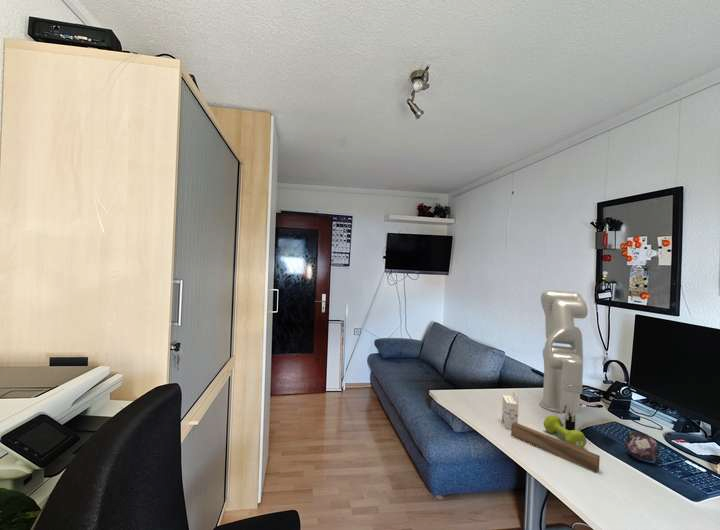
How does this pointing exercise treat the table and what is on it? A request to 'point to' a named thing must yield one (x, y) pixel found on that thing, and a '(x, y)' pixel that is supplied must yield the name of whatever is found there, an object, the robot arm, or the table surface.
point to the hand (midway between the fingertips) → (570, 429)
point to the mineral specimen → (642, 446)
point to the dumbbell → (564, 431)
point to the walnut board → (557, 447)
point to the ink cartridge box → (510, 410)
